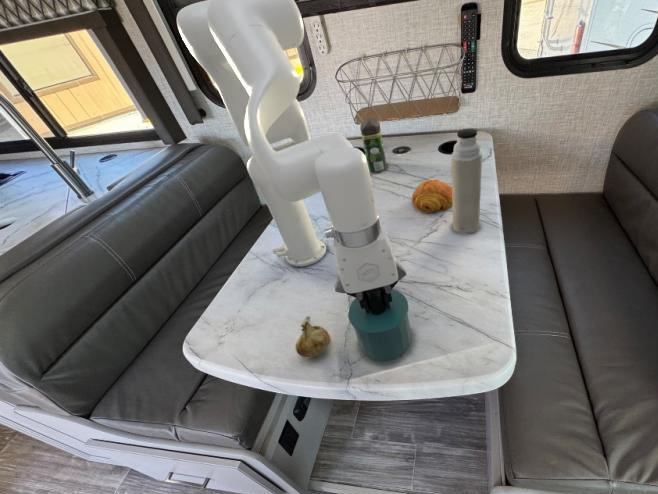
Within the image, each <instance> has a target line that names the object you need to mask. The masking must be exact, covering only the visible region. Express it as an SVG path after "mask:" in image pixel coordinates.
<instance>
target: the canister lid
mask: <svg viewBox="0 0 658 494" xmlns="http://www.w3.org/2000/svg"><path fill="white" fill-rule="evenodd" d="M364 294H365V297H366V300H367V304H368V307H369V312H370V313H369V314H366V311H365V308H364V309H361V306H360V303H359V301H358V300H357V299H356V298H355V297H354V299H353V300H352V301H351V304H350V305H349V307H348V311H347V316H348V321H349V323H350V324H351V326H352V327H353V329H354V328H356V329H357V330H359V331H361V332H364V333H369V334H379V333H384V332H387V331H390V330H392V329H394V328H396V327H397V326H398V325H400V324H401V323H402V322H403V321H404V319H405V318H406V316H407V313H409V302H408V299H407V297H406V296H405V295H404V294H403V293H402V292H400V291H399V290H397V289H394V288H393V289H392V292H391V296H392V301H393V302H389V303H390V309H388V308H387V306H386V302H385V298H384V294H383V289H382V287H378V288H374V289H370V290H366V291H364Z"/></svg>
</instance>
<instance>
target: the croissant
mask: <svg viewBox="0 0 658 494" xmlns="http://www.w3.org/2000/svg"><path fill="white" fill-rule="evenodd" d="M411 201H412V204H413V206H414V207H415V209H417V210H418V211H419V212H422V213H426V214H427V213H433V212H434V213H436V212H438V211H445V210H448V208H450V207H452V206H453V205H452V185H449V183H446V182H444V181H441V180H439V179H428V180H425V181H422V182H420V183H419V184H418V185H417V187H416V188H415V190H414V191H413V193H412V196H411Z"/></svg>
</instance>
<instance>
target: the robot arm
mask: <svg viewBox="0 0 658 494" xmlns="http://www.w3.org/2000/svg"><path fill="white" fill-rule="evenodd" d="M302 17H303V16H302V14H301V11H300V9H299V7H298V5H297V3H296V1H295V0H201V1H199V2H194V3H190V4H189V5H186V6H184V7H183V8H181V9H180V10H179V11H178V13H177V15H176V25H177V29H178V32H179V34H180V36H181V38H182V41H183V42H184V44H185V45H186V47H187V49H188V50H189V53H190V54H191V55H192V57H194V59H195V60H196V62H197V63H198V64H199V65H200V66H201V67H202V69H203V70H204V71H205V72H206V74H207V75H208V76H209V77H210V78H211V80H212V82H213V83H214V84H215V86H216V88H217V90H218V92H219V95H220V97H221V99H222V101H223V104H224V106H225V108H226V110H227V113H228V115H229V117H230V120H231V122H232V125H233V127H234V129H235V131H236V132H237V133H236V134H238V137H239V138H240V140H241V142H242V143H243V144H244V145H245V146H246V147H248V148H249V149H250V152H251V154H252V155H251V156H250V157H249V158H248V161H247V163H246V170H247V173H248V175H249V177H250V179H251V180H252V182H253V183H254V185H255V187H256V188H257V190H258V192H259V193H260V195H261V196H262V198H263V201H264V202H265V204H266V206H267V207H268V210H269V213H270V214H271V217H272V219H273V221H274V223H275V226H276V228H277V230H278V232H279V234H280V236H281V238H282V240H283V243H284V244H282V245H281V246H275V247H272V253H273V254H274V255H276V257H277V258H281V257H285V260H286V262H287V263H288V264H289V265H291V266H293V267H306V266H310V265H313V264H315V263H317V262H318V261H320V260H322V258H323V257H324V256H325V254H326V252H327V247H326V244H325V243H324V241H322V240H320V239H318V236H317V233H316V230H315V228H314V225H313V222H312V219H311V217H310V215H309V211H308V209H307V206H306V203H305V199H307V198H309V197H312V196H314V195H316V194H318V193H320V192H321V196H322V198H323V202H324V205H325V208H326V211H327V215H328V217H329V220H330V224H331V225H330V227H328V228H327V229H324V235H325V237H326V239H330V238H331V239H333V254H334V260H335V265H336V269H337V273H338V276H337V279H336V280H335V284H334V291H335V292H336V293H339V294H346V295H348V296H350V297H353V298H354V299H355V298H356V299H357V300H358V301H359V303H360V306H361V309H364V308H365V311H366V314H369V313H370V312H369V307H368V304H367V300H366V297H365V294H364V291H366V290H370V289H374V288H378V287H382V289H383V294H384V298H385V302H386V306H387V308H388V309H390V303H389V302H393V301H392V296H391V292H392V289H394V287H395V286H397V284H398V283H399V281H401V280H402V279H404V278H405V277H407V271H406V269H405V268H404V267H403V265H401V264H400V263H399V262H397V261H396V259H395V255H394V250H393V247H392V244H391V241H390V237H389V236H388V234H387V231H386V230H385V229H384V227H383V226H381V223H380V219H379V213H378V207H377V202H376V198H375V194H374V189H373V184H372V178H371V172H370V171H369V168H368V163H367V159H366V154H364V152H363V151H362V150H360V149H359V148H357V147H354V146H353V145H352V143H351V141H349V140H348V139H347V138H346V137H345V136H344V135H343V134H341V133H340V132H339V133H338V132H329V133H325V134H323V135H322V134H321V135H320V136H317V137H314V138H312V136H311V132H310V129H309V125H308V122H307V118H306V116H305V113H304V111H303V108H302V106H301V104H300V103H299V100H298V99H297V96H298V94H299V93H300V86H301V82H300V80H301V79H300V75H299V73H298V71H297V69H296V68H295V67H294V65H293V63H292V62H291V60H290V59H289V57H288V55H287V54H286V52H285V51H288V50H291V49H296V48H298V47H299V46H301V45H302V43H303V42H304V38H305V25H304V21H303V18H302ZM287 139H290V141H287V142H284V143H281V144H279V145H275V146H271V145H272V144H275V143H278V142H281V141H284V140H287Z"/></svg>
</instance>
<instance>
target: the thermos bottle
mask: <svg viewBox="0 0 658 494" xmlns="http://www.w3.org/2000/svg"><path fill="white" fill-rule="evenodd" d="M477 135H478V130H477V129H475V128H472V127H471V128H469V127H468V128H463V129H459V130H458V131H457V139H456V143H455V144H454V145H453V152H452V153H451V156H450V157H451V159H450V161H451V187H452V205H451V206H452V229H453V230H454V231H455V232H459V233H468V234H472V233H475V232H477V231H478V230H479V228H480V220H481V219H480V218H481V217H480V216H481V191H482V172H483V171H482V170H483V169H482V167H483V151H482V150H481V148H482V147H481V144H480V142H479V141H477V139H478V137H477Z"/></svg>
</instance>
